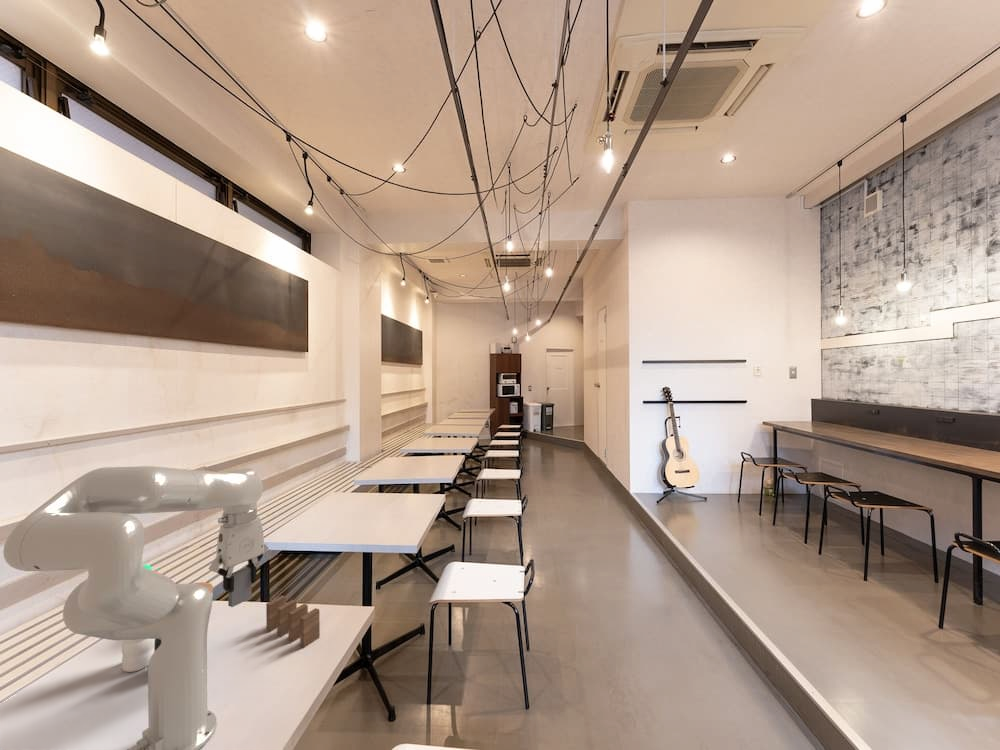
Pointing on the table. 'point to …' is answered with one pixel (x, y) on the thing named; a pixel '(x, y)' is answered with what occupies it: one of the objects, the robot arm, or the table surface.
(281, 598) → the domino
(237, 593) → the domino
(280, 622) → the domino
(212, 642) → the table surface
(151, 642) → the water bottle
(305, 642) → the domino
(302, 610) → the domino
